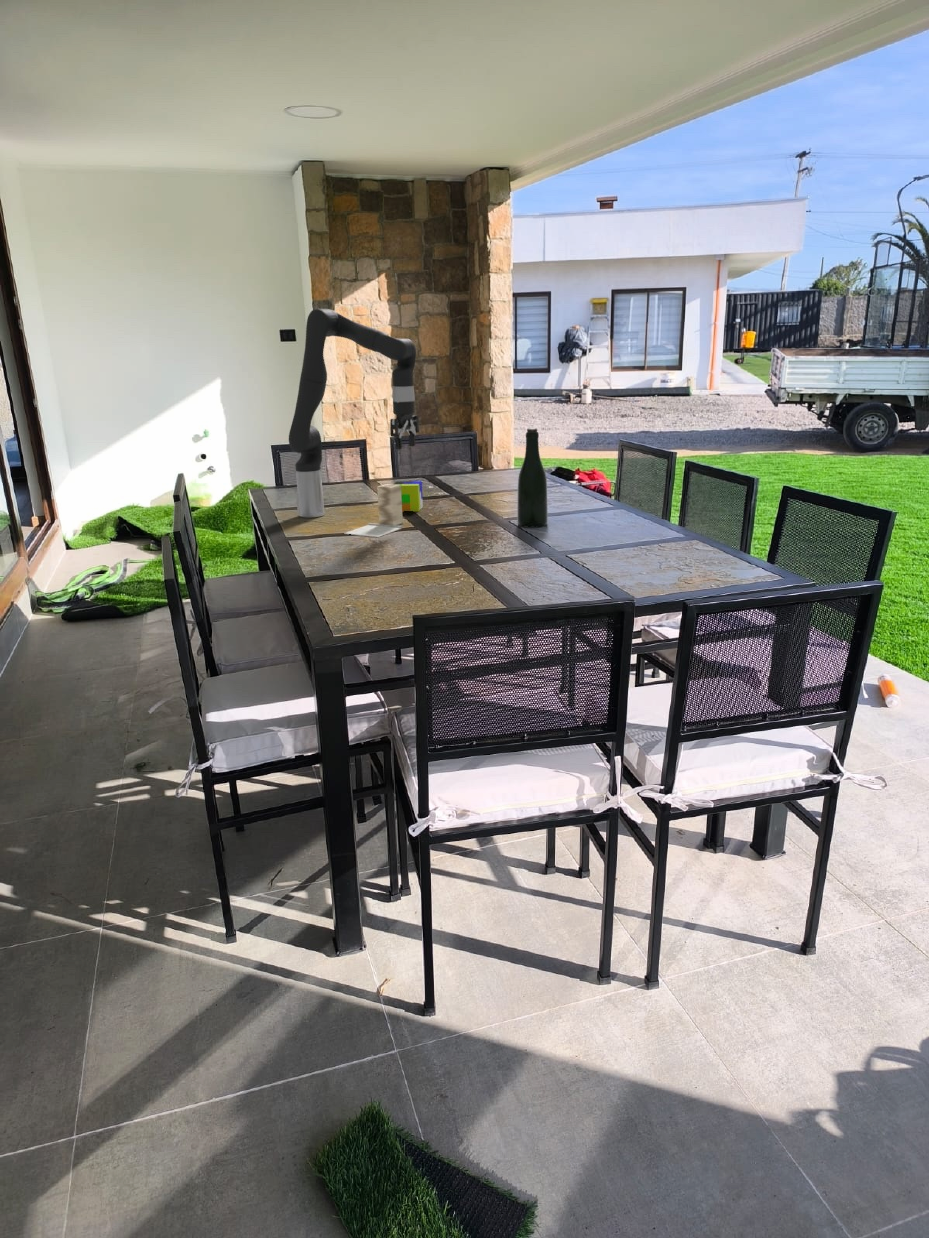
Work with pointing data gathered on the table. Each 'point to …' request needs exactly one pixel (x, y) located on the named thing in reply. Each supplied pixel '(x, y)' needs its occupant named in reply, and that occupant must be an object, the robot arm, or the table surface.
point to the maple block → (390, 504)
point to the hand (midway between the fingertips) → (405, 447)
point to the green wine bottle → (532, 486)
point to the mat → (374, 530)
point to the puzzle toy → (411, 495)
